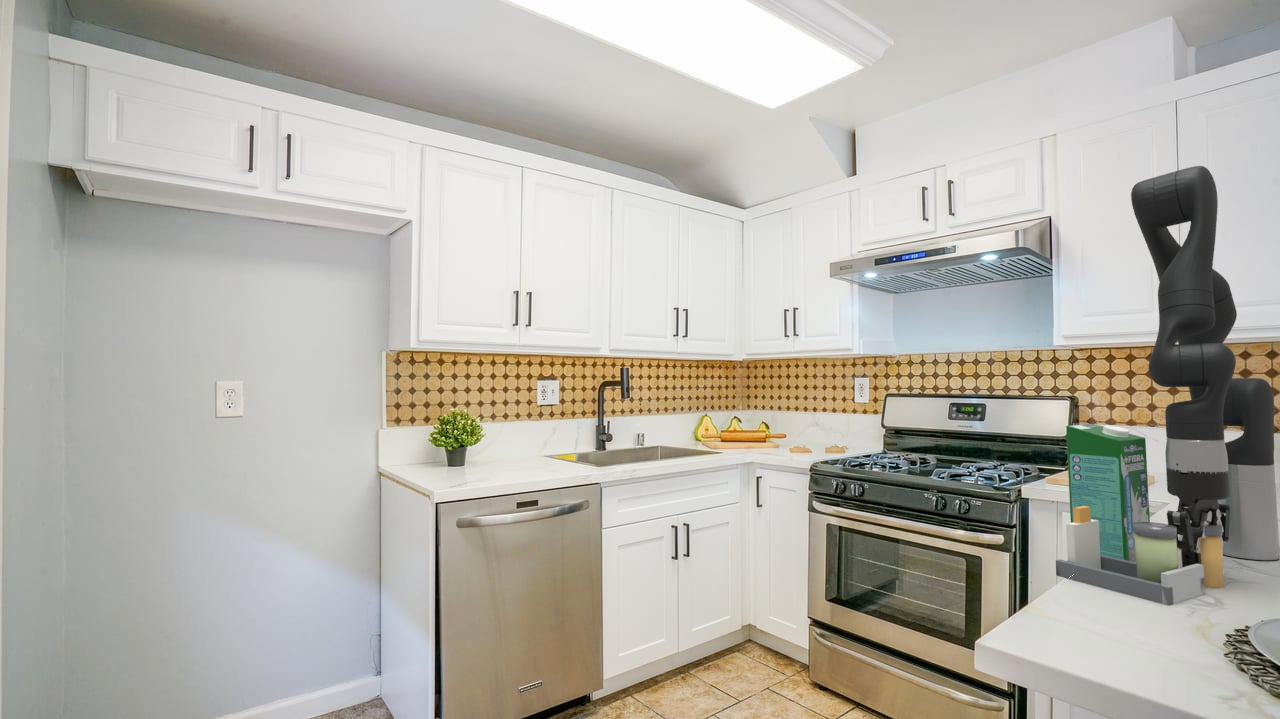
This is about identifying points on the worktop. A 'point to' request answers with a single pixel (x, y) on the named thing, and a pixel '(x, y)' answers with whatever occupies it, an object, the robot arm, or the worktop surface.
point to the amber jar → (1212, 556)
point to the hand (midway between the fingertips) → (1202, 571)
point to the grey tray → (1137, 580)
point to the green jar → (1155, 549)
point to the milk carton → (1109, 483)
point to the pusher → (1083, 539)
